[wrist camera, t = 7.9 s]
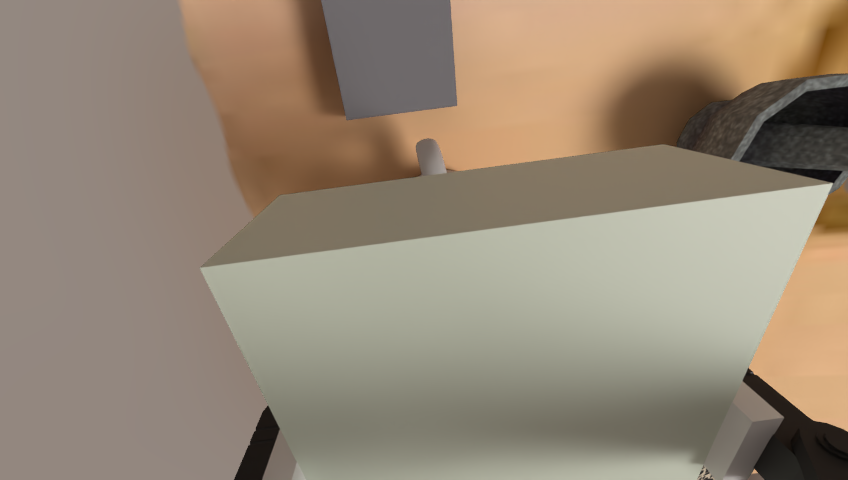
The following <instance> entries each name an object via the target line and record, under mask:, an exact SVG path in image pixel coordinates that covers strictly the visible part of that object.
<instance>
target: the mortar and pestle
mask: <svg viewBox="0 0 848 480" xmlns="http://www.w3.org/2000/svg"><path fill="white" fill-rule="evenodd" d="M677 147H678V148H682V149H687V150H691V151H695V152H700V153H704V154H709V155H713V156H717V157H722V158H726V159H730V160H735V161H739V162H743V163H748V164H752V165H756V166H761V167H765V168H770V169H774V170H778V171H783V172H787V173H791V174H796V175H800V176H804V177H809V178H813V179H817V180H822V181H826V182H831V183H833V185H832V187H831V189H830V191H829V193H828V195H829V194H830V193H832V192H834V191H835V190H837V189H838V188H840V186H841V185H842V184H843V182H844V181H845V180H846V179H847V177H848V74H827V75H819V76H811V77H803V78H795V79H786V80H780V81H773V82H767V83H761V84H759V85H757V86H755V87H753V88H751V89H749V90H747V91H745V92H743V93H741V94H740V95H739V96H737V97H736V98H735V99H733V100H728V101H720V102H712V103H710V104H709V105H707V106H706V107H705V108H703V109H702V110H701V111H700V112H698V113H697V114H696V115H694V116H693V117H692V118H690V119H689V120H688V122H687V124H686V126H685V128H684V130H683V132H682V134H681V136H680V137H679V139H678V141H677Z"/></svg>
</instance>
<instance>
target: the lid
mask: <svg viewBox="0 0 848 480" xmlns="http://www.w3.org/2000/svg"><path fill="white" fill-rule="evenodd" d="M832 185H833V183H831V182H826V181H822V180H817V179H813V178H809V177H804V176H800V175H796V174H791V173H787V172H783V171H778V170H774V169H770V168H765V167H761V166H756V165H752V164H748V163H743V162H739V161H735V160H730V159H726V158H722V157H717V156H713V155H709V154H704V153H700V152H695V151H691V150H687V149H682V148H678V147H674V146H669V145H665V144H661V145H653V146H646V147H638V148H631V149H623V150H616V151H608V152H601V153H593V154H586V155H578V156H571V157H563V158H556V159H548V160H541V161H533V162H525V163H518V164H510V165H503V166H495V167H488V168H480V169H473V170H465V171H458V172H450V173H443V174H435V175H428V176H420V177H413V178H405V179H398V180H390V181H383V182H375V183H367V184H360V185H352V186H345V187H337V188H330V189H322V190H315V191H307V192H300V193H292V194H285V195H279V196H278V197H277V198H276V199H275V200H274V201H273V202H271V203H270V204H269V205H268V206H267V207H266V208H265V209H264V210H263V211H262V212H261V213H259V214H258V215H257V216H256V217H255V218H254V219H253V220H252V221H251V222H250V223H248V224H247V225H246V226H245V227H244V228H243V229H242V230H241V231H240V232H239V233H237V234H236V235H235V236H234V237H233V238H232V239H231V240H230V241H229V242H228V243H226V244H225V246H223V247H222V248H221V249H220V250H219V251H218V252H217V253H215V254H214V255H213V256H212V257H211V258H210V259H209V260H208V261H207V262H206V263H205V264H203V265H202V266H201V267H200V270H201V271H202V274H203V276H204V278H205V280H206V282H207V284H208V286H209V288H210V290H211V292H212V294H213V296H214V298H215V300H216V302H217V304H218V306H219V308H220V310H221V312H222V313H223V316H224V318H225V320H226V322H227V324H228V326H229V328H230V330H231V332H232V334H233V335H234V338H235V340H236V342H237V344H238V346H239V348H240V349H241V352H242V354H243V356H244V358H245V359H246V362H247V364H248V366H249V368H250V370H251V372H252V374H253V376H254V378H255V380H256V382H257V384H258V386H259V388H260V390H261V392H262V393H263V396H264V398H265V400H266V402H267V404H268V406H269V408H270V410H271V412H272V414H273V416H274V418H275V420H276V422H277V424H278V426H279V428H280V430H281V432H282V434H283V436H284V438H285V440H286V442H287V444H288V446H289V448H290V450H291V452H292V454H293V456H294V458H295V460H296V462H298V464H299V466H300V468H301V470H302V472H303V474H304V477H305V479H306V480H697V478H698V476H699V474H700V472H701V470H702V467H703V464H704V462H705V460H706V458H707V455H708V453H709V451H710V449H711V447H712V445H713V442H714V440H715V438H716V436H717V434H718V431H719V429H720V427H721V425H722V423H723V421H724V418H725V416H726V414H727V412H728V410H729V407H730V405H731V403H732V402H733V400H734V398H735V396H736V394H737V391H738V389H739V387H740V385H741V383H742V380H743V378H744V376H745V374H746V372H747V370H748V367H749V365H750V363H751V361H752V359H753V357H754V354H755V352H756V350H757V348H758V346H759V344H760V341H761V339H762V337H763V335H764V333H765V330H766V328H767V326H768V324H769V322H770V320H771V317H772V315H773V313H774V311H775V309H776V307H777V304H778V302H779V300H780V298H781V296H782V294H783V291H784V289H785V287H786V285H787V283H788V280H789V278H790V276H791V274H792V272H793V270H794V267H795V265H796V263H797V261H798V259H799V257H800V254H801V252H802V250H803V248H804V246H805V244H806V241H807V239H808V237H809V235H810V233H811V230H812V228H813V226H814V224H815V222H816V220H817V217H818V215H819V213H820V211H821V209H822V207H823V204H824V202H825V200H826V198H827V196H828V193H829V191H830V189H831V187H832Z"/></svg>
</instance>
